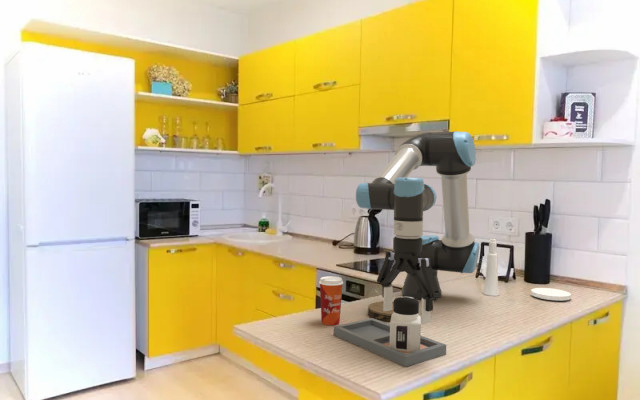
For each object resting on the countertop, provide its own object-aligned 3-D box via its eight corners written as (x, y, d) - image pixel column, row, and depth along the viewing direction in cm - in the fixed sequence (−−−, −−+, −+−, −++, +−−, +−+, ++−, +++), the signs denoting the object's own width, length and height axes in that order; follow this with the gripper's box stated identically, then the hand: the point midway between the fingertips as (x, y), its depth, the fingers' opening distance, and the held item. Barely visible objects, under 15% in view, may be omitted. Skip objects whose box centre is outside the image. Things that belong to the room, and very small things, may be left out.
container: (419, 353, 124) (421, 303, 123) (389, 350, 125) (390, 301, 125) (420, 343, 131) (421, 295, 131) (391, 340, 133) (392, 293, 132)
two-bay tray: (333, 334, 141) (333, 326, 141) (371, 325, 150) (372, 317, 149) (406, 367, 118) (406, 356, 118) (446, 354, 127) (446, 344, 127)
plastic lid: (578, 303, 182) (578, 296, 182) (542, 303, 181) (543, 296, 181) (557, 294, 196) (557, 287, 196) (524, 294, 195) (524, 287, 195)
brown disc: (362, 320, 157) (363, 310, 156) (374, 307, 172) (374, 299, 171) (412, 325, 151) (412, 316, 151) (419, 312, 166) (419, 304, 166)
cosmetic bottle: (501, 296, 190) (503, 240, 189) (485, 295, 190) (487, 240, 189) (496, 292, 196) (498, 238, 195) (481, 292, 196) (482, 238, 195)
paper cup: (325, 327, 147) (326, 282, 146) (314, 320, 154) (314, 277, 153) (347, 324, 151) (348, 279, 150) (335, 317, 158) (336, 275, 157)
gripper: (365, 232, 135) (363, 307, 136) (435, 243, 114) (433, 332, 116) (384, 230, 139) (383, 303, 140) (456, 241, 119) (453, 326, 120)
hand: (406, 316), depth 128 cm, fingers open, 13 cm apart
